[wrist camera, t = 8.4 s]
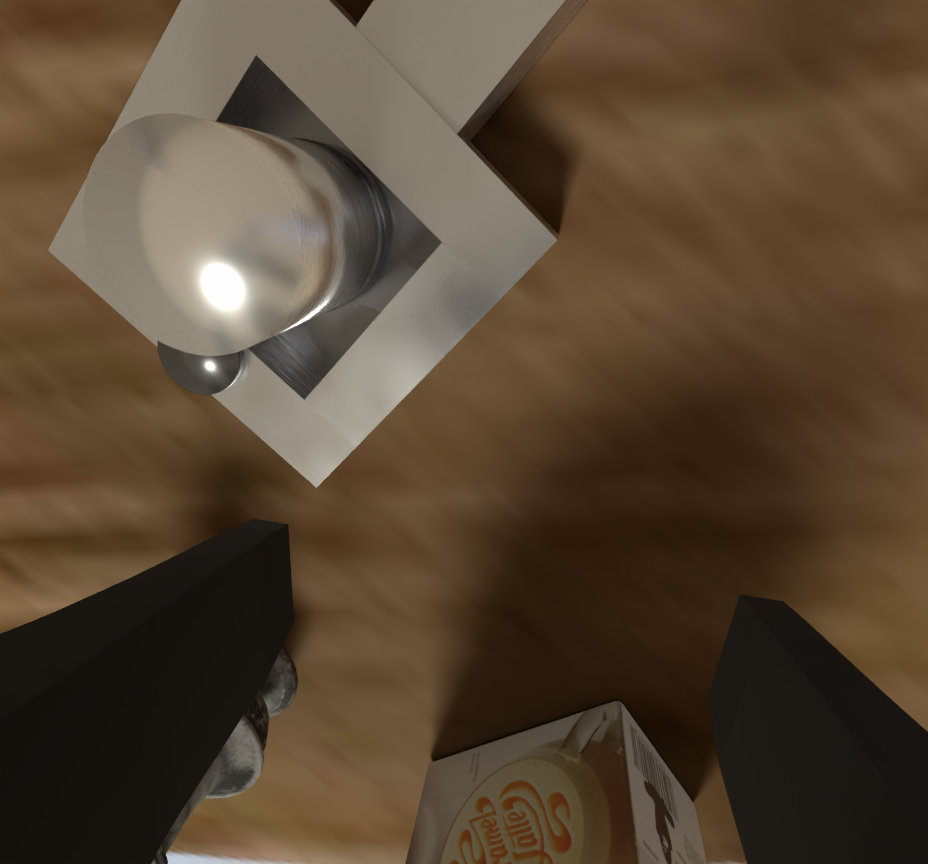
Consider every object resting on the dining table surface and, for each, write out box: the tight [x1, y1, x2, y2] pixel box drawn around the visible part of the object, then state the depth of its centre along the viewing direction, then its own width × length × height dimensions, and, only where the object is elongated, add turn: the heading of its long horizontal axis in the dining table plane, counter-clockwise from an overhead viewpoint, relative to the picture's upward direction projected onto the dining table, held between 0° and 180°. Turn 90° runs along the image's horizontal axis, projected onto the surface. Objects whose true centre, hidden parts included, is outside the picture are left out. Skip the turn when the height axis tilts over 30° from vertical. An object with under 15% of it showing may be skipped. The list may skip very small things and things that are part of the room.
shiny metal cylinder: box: [83, 113, 391, 356], centre depth 14 cm, size 4×4×6 cm
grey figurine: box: [151, 648, 297, 864], centre depth 19 cm, size 6×6×12 cm
